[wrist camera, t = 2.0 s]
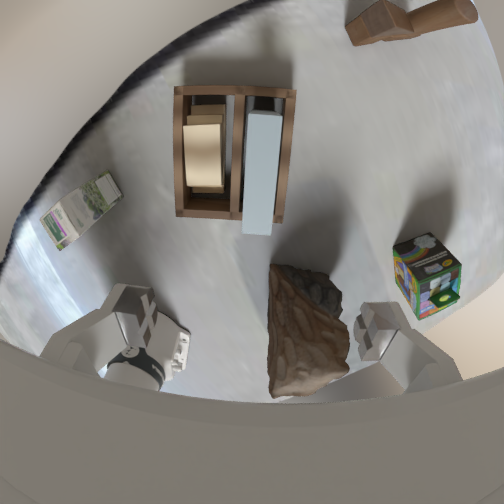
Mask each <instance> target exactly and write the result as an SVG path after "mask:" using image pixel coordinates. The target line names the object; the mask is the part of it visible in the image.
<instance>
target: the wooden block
mask: <svg viewBox="0 0 504 504" xmlns="http://www.w3.org/2000/svg"><path fill="white" fill-rule="evenodd" d="M477 20H478V12H477V10H476V8H475V6H474V4H473V3H472V2H471V1H470V0H437V1H435V2H432V3H430V4H427V5H425V6H422V7H420V8H417V9H415V10H413V11H410V12H408V13H406V12H405V11H404V10H403V9H401V8H399V7H397V6H396V5H394V4H392V3H390V2H388V1H386V0H379V1H377V2H376V3H375V4H373V5H372V6H370V7H369V8H368V9H366V10H365V11H364V12H362V13H361V14H360V15H359V16H358V17H357V18H355V19H354V20H353V21H351V22H350V23H349V24H348V25H346V26H345V29H346V31H347V33H348V35H349V37H350V39H351V42H352V44H353V45H354V46H361V45H366V44H372V43H375V42H377V41H380V40H383V41H393V40H401V39H411V38H414V37H418V36H420V35H421V34H424V33H428V32H432V31H436V30H440V29H444V28H449V27H454V26H459V25H464V24H470V23H475V22H476V21H477Z"/></svg>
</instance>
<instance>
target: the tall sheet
mask: <svg viewBox="0 0 504 504" xmlns="http://www.w3.org/2000/svg"><path fill="white" fill-rule="evenodd" d="M282 117H283V116H281V115H280V114H278V113H277V112H275V111H268V110H254V109H253V110H252V111H251V112H250V113H249V114H248V129H247V145H246V162H245V180H244V198H243V217H242V233H244V234H258V235H271V230H272V221H273V211H274V202H275V192H276V182H277V172H278V161H279V151H280V140H281V128H282Z"/></svg>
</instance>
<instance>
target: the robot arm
mask: <svg viewBox="0 0 504 504" xmlns="http://www.w3.org/2000/svg"><path fill="white" fill-rule="evenodd" d="M154 296H155V295H154V291H153V289H152V288H150V287H143V286H136V285H130V284H129V285H128V284H122V283H117V284H115V285H114V287H113V289H112V290H111V292H110V293H109V295H108V296H107V298H106V300H105V301H104V303H103V305H102V306H101V308H100V309H95V310H94V311H92V312H90V313H88V314H87V315H85V316H83V317H82V318H80V319H78V320H76V321H75V322H73V323H71V324H70V325H68V326H66V327H64V328H63V329H61V330H59V331H58V332H56V333H54V334H53V335H52V337H51V338H50V340H49V341H48V343H47V345H46V346H45V348H44V350H43V351H42V353H41V355H40V357H39V356H37V355H35V354H32V353H30V352H28V351H25V350H23V349H21V348H19V347H16V346H14V345H12V344H10V343H8V342H6V341H4V340H2V339H0V504H504V367H503V368H500V369H497V370H495V371H492V372H489V373H486V374H483V375H480V376H477V377H474V378H470V379H467V380H463V379H462V377H461V375H460V373H459V371H458V368H457V366H456V364H455V362H454V360H453V358H451V357H450V356H449V355H448V354H446V353H445V352H444V351H443V350H441V349H440V348H439V347H437V346H436V345H435V344H434V343H432V342H431V341H430V340H428V339H427V338H426V337H424V336H423V335H422V334H421V333H419V332H418V331H417V330H415V329H411V326H410V324H409V322H408V320H407V318H406V316H405V314H404V312H403V311H402V309H401V307H400V305H399V303H398V302H364V303H363V304H362V305H361V308H360V311H361V314H360V315H359V316H358V317H356V320H355V323H354V329H353V331H354V337H355V340H356V341H357V342H358V343H359V344H360V345H359V347H358V351H359V355H360V358H361V361H378V360H380V362H381V363H382V365H383V366H384V367H385V368H386V369H387V370H388V371H389V372H390V373H391V375H392V376H393V377H394V378H395V379H396V380H397V381H398V382H399V384H400V385H401V386H402V387H403V388H404V389H405V391H404V393H403V394H401V395H395V396H388V397H381V398H374V399H365V400H355V401H343V402H330V403H329V402H328V403H304V404H303V403H300V404H282V403H281V404H279V403H251V402H236V401H225V400H215V399H206V398H198V397H191V396H184V395H177V394H171V393H166V392H160V391H159V390H160V389H161V387H162V386H163V384H164V381H170V380H172V379H173V378H174V376H175V372H176V371H178V372H181V370H184V369H185V368H186V364H187V357H188V350H189V344H190V337H191V335H190V333H189V332H187V331H186V330H184V329H182V328H180V327H179V326H177V325H176V324H175V323H174V322H173V321H172V320H171V319H170V318H169V317H167V316H166V315H164V314H162V313H160V312H158V311H157V305H156V304H155V302H154V301H153V298H154ZM107 363H108V365H107V369H108V370H107V372H106V375H105V377H104V378H101V377H100V376H99V374H98V371H99V370H100V369H101V368H103V367H104V366H105V365H106V364H107Z"/></svg>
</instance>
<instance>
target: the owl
mask: <svg viewBox="0 0 504 504" xmlns="http://www.w3.org/2000/svg"><path fill="white" fill-rule="evenodd" d="M341 302H342V292H341V291H340V290H339V289H337V287H336V286H335V285H334V284H333V282H332V281H331V280H329V276H328V275H327V274H325V273H321V272H312V271H311V270H302V269H296V268H294V267H293V266H289V265H277V264H270V272H269V299H268V314H267V315H268V333H269V346H268V357H267V361H268V362H267V366H268V367H267V368H268V371H267V372H268V375H269V377H270V381H269V393H270V394H271V397H272V398H273V399H275V398H278V397H280V396H309V395H312V394H314V393H316V391H317V390H318V389H319V388H322V387H325V386H327V384H328V383H329V382H330V381H332V380H333V379H339V378H341V377H342V376H344V375H345V374H347V373H348V372H349V369H350V368H349V365H348V364H347V363H346V362H345V360H346V358H347V355H348V352H349V347H350V342H349V339H350V338H349V332H348V330H347V325H345V324H344V323H343V322H342V321H341V320H339V319H338V318H339V316H340V315H341V313H342V311H343V309H342V307H341Z"/></svg>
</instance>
